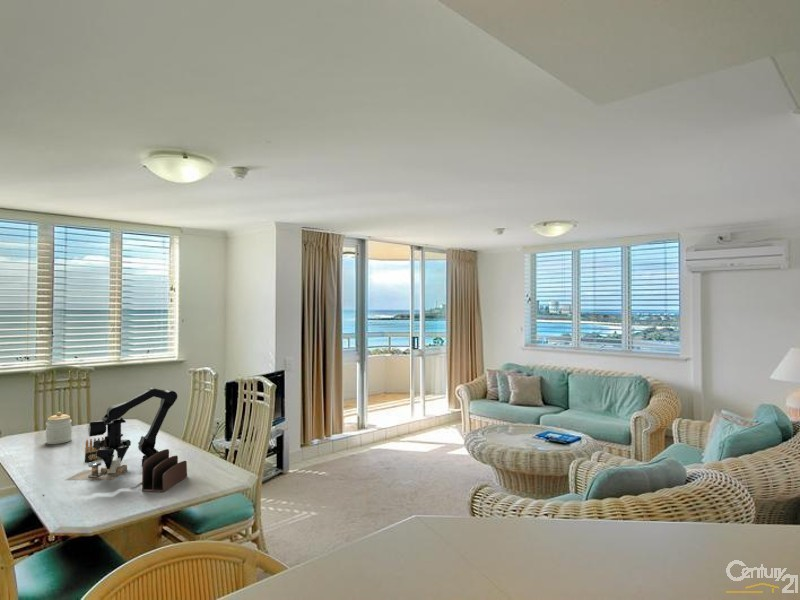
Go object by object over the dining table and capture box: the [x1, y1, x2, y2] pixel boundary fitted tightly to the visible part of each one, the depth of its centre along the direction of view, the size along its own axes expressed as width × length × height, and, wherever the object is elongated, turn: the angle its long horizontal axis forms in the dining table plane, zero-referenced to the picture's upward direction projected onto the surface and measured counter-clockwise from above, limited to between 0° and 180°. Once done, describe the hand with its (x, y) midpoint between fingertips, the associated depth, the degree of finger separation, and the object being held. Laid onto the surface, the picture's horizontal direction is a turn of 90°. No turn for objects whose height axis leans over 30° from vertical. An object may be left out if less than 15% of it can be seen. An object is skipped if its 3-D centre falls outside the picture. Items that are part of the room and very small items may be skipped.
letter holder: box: [141, 448, 188, 493], centre depth 222 cm, size 10×20×14 cm, turn 175°
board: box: [65, 469, 121, 481], centre depth 230 cm, size 21×14×2 cm, turn 90°
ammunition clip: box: [84, 436, 108, 464], centre depth 257 cm, size 11×2×12 cm, turn 131°
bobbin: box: [87, 461, 102, 478], centre depth 229 cm, size 5×5×6 cm
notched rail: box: [100, 464, 128, 475], centre depth 234 cm, size 10×5×2 cm, turn 90°
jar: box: [45, 411, 73, 445], centre depth 295 cm, size 13×13×18 cm
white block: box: [107, 457, 122, 473], centre depth 235 cm, size 4×4×6 cm
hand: (114, 465), depth 235 cm, fingers open, 9 cm apart
